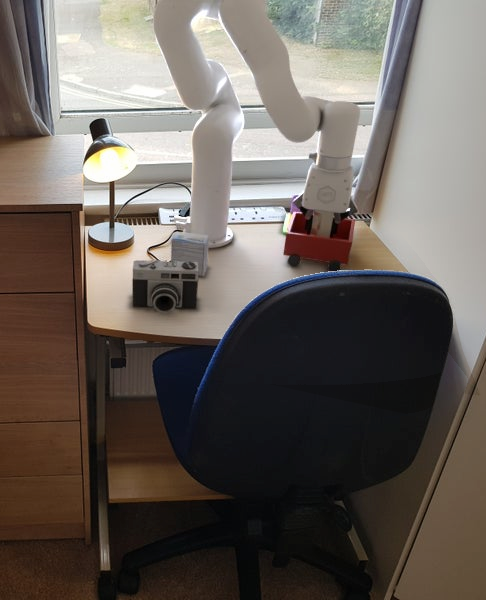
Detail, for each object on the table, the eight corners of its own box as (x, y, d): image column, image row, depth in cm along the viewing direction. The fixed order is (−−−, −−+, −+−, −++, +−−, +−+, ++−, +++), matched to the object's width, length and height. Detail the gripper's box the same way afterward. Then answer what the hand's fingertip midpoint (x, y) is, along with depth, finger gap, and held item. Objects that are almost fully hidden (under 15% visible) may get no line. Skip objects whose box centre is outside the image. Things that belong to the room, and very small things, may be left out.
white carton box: (309, 234, 153) (316, 196, 147) (328, 237, 151) (336, 198, 146) (308, 244, 149) (315, 205, 143) (327, 247, 147) (335, 207, 142)
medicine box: (207, 268, 148) (209, 235, 143) (203, 277, 144) (205, 243, 140) (174, 263, 150) (176, 230, 146) (170, 272, 147) (171, 239, 142)
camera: (126, 315, 132) (127, 272, 127) (135, 293, 140) (135, 253, 134) (193, 323, 129) (196, 280, 124) (198, 300, 137) (201, 259, 132)
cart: (281, 264, 149) (288, 215, 142) (289, 237, 160) (296, 191, 153) (345, 274, 144) (356, 224, 137) (349, 246, 156) (359, 198, 149)
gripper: (291, 161, 139) (281, 236, 149) (373, 170, 134) (356, 247, 144) (296, 150, 145) (285, 222, 155) (374, 158, 140) (358, 232, 149)
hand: (320, 233), depth 149 cm, fingers closed on white carton box, 4 cm apart
